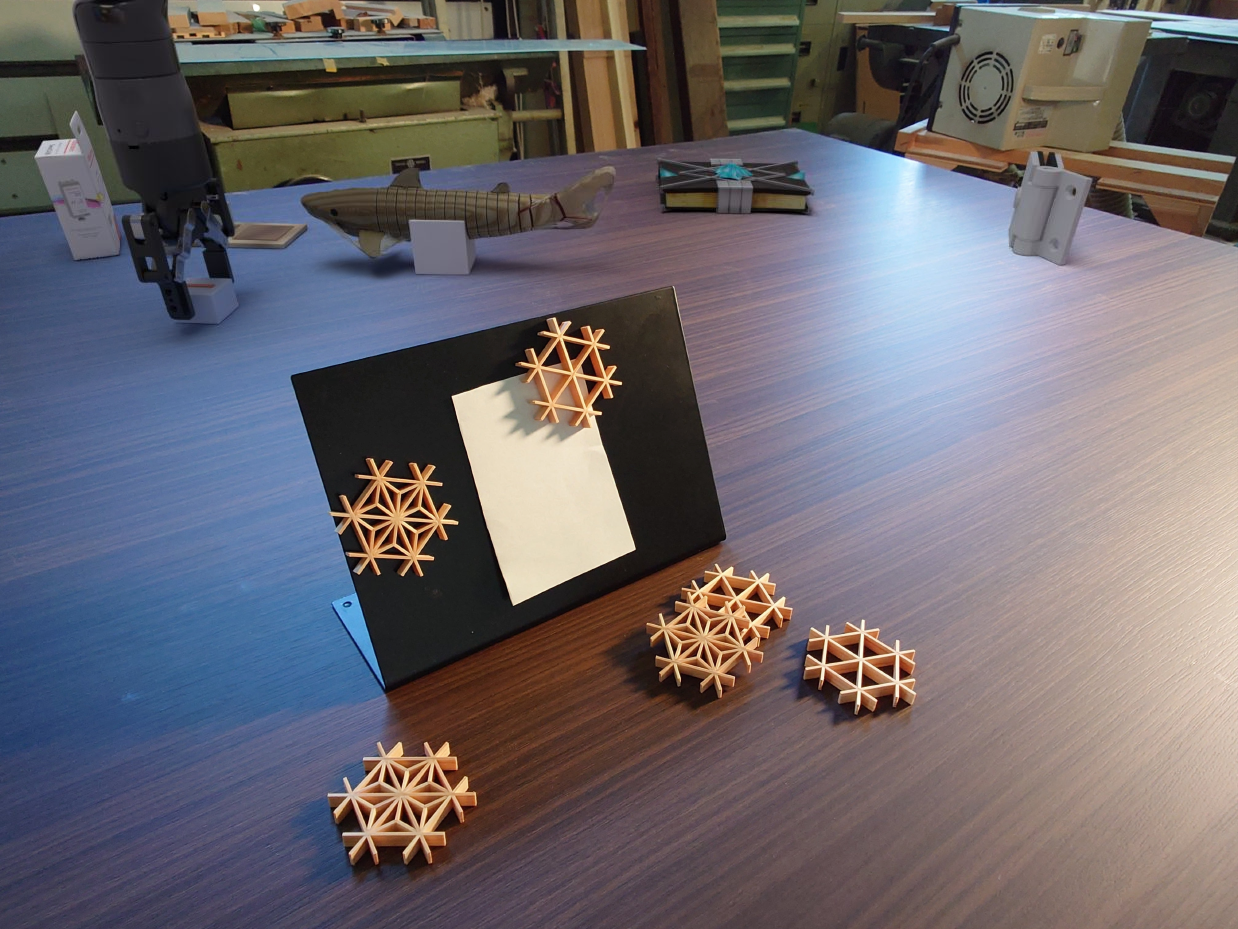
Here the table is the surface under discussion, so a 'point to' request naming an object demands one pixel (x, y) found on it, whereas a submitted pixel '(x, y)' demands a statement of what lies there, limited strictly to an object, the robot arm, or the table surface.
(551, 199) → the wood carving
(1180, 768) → the table surface
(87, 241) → the ink cartridge box
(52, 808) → the table surface
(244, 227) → the word board
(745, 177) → the book
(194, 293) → the tile
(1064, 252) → the hinge
